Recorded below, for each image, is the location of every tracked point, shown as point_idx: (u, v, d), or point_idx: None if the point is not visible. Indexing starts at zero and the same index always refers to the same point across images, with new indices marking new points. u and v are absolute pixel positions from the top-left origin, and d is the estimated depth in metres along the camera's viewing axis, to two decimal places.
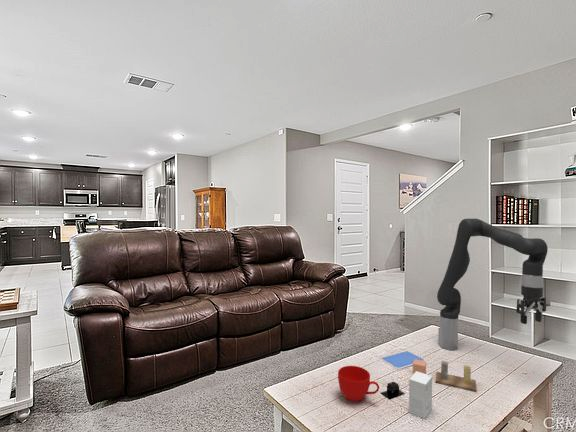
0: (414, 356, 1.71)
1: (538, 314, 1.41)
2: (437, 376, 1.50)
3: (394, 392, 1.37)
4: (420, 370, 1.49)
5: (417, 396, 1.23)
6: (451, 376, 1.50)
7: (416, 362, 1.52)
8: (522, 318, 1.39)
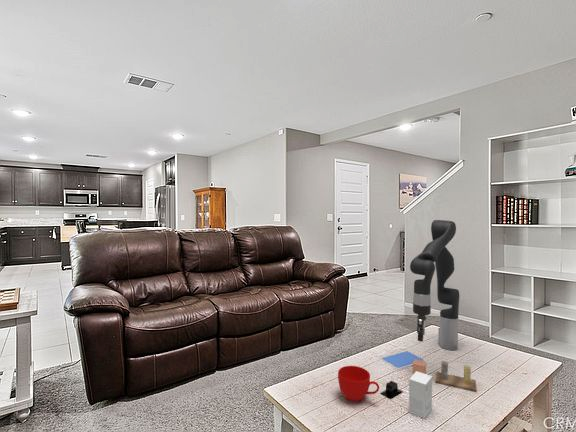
0: (414, 356, 1.71)
1: (422, 328, 1.54)
2: (437, 376, 1.50)
3: (393, 391, 1.38)
4: (420, 370, 1.49)
5: (417, 396, 1.23)
6: (451, 376, 1.50)
7: (416, 362, 1.52)
8: (420, 336, 1.46)
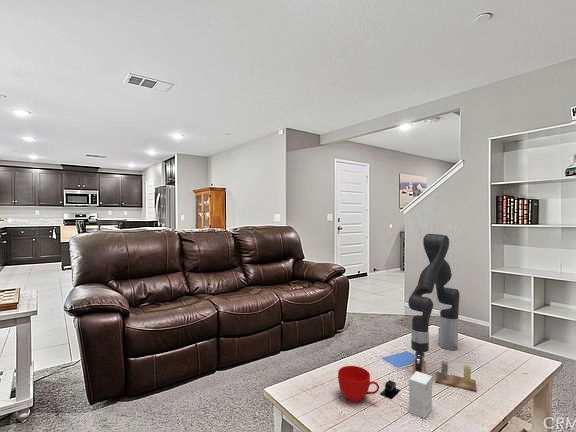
0: (414, 356, 1.71)
1: None
2: (437, 376, 1.50)
3: (392, 390, 1.39)
4: None
5: (417, 396, 1.23)
6: (451, 376, 1.50)
7: None
8: None
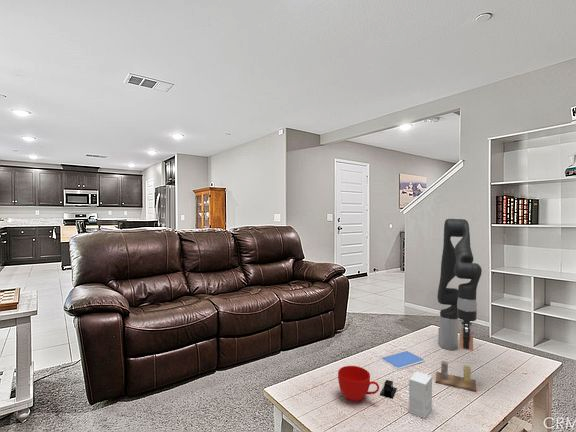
0: (414, 356, 1.71)
1: None
2: (437, 376, 1.50)
3: None
4: None
5: (417, 396, 1.23)
6: (451, 376, 1.50)
7: None
8: (466, 344, 1.41)
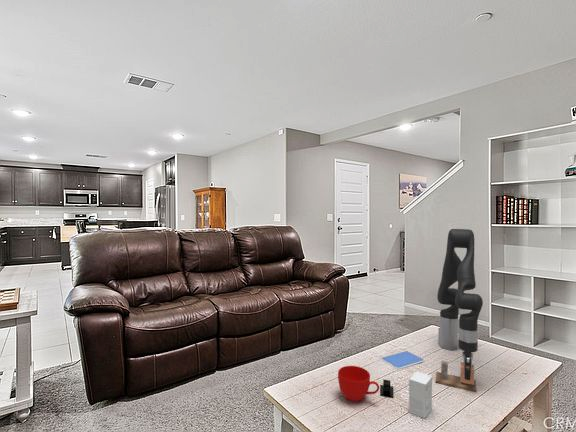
0: (414, 356, 1.71)
1: None
2: (437, 376, 1.50)
3: None
4: None
5: (417, 396, 1.23)
6: (451, 376, 1.50)
7: (463, 365, 1.45)
8: (468, 375, 1.40)
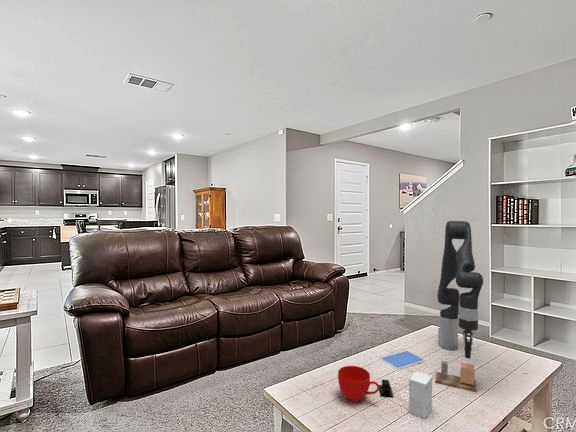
0: (414, 356, 1.71)
1: (468, 346, 1.46)
2: (437, 376, 1.50)
3: None
4: (469, 374, 1.42)
5: (417, 396, 1.23)
6: (451, 376, 1.50)
7: (463, 365, 1.45)
8: (468, 353, 1.41)
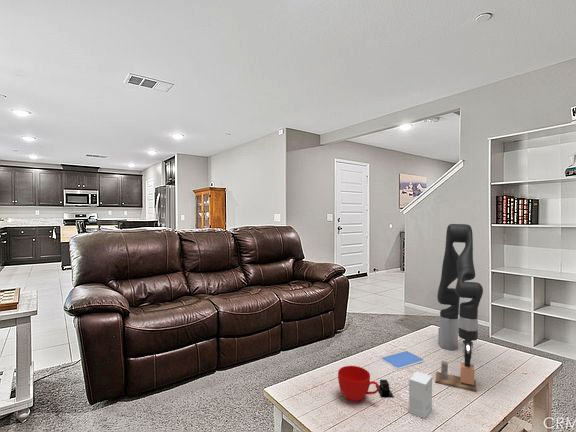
0: (414, 356, 1.71)
1: None
2: (437, 376, 1.50)
3: None
4: (469, 374, 1.42)
5: (417, 396, 1.23)
6: (451, 376, 1.50)
7: (463, 365, 1.45)
8: (467, 362, 1.43)
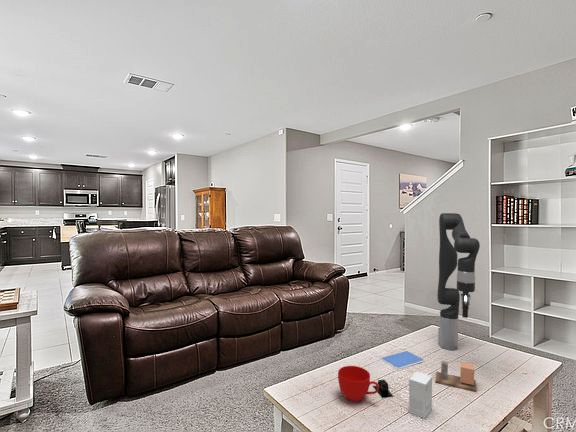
0: (414, 356, 1.71)
1: None
2: (437, 376, 1.50)
3: None
4: (469, 374, 1.42)
5: (417, 396, 1.23)
6: (451, 376, 1.50)
7: (463, 365, 1.45)
8: (465, 313, 1.52)
